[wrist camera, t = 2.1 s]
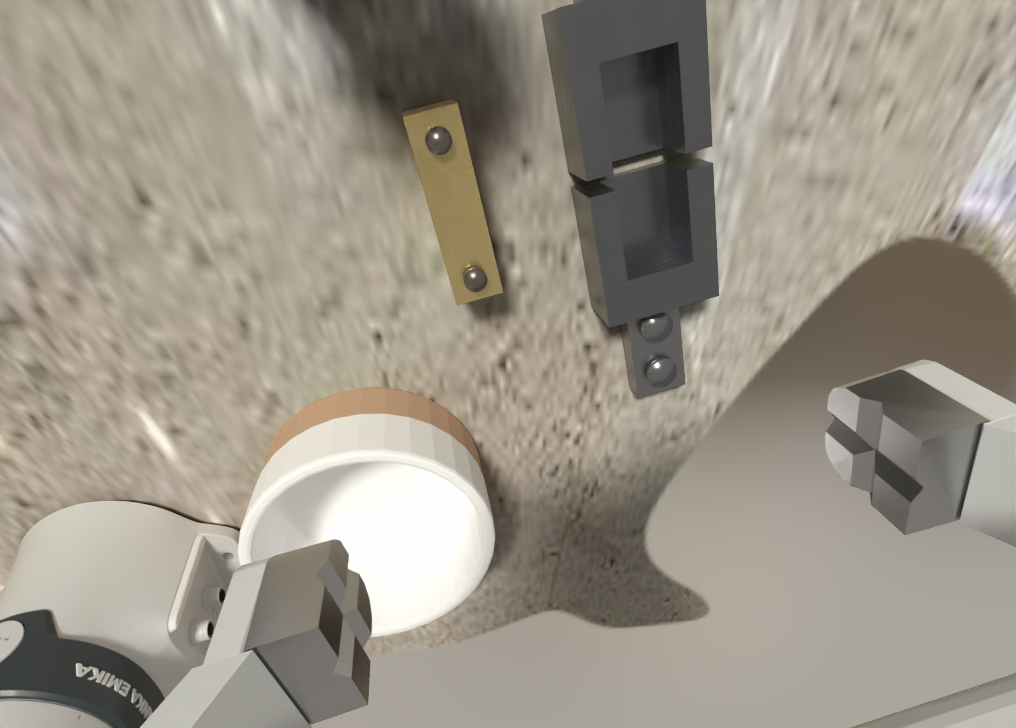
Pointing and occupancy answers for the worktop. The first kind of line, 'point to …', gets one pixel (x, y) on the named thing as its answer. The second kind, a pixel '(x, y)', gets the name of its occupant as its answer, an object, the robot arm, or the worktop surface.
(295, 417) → the bowl
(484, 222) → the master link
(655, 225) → the chain end far
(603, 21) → the chain end near
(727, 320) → the worktop surface
